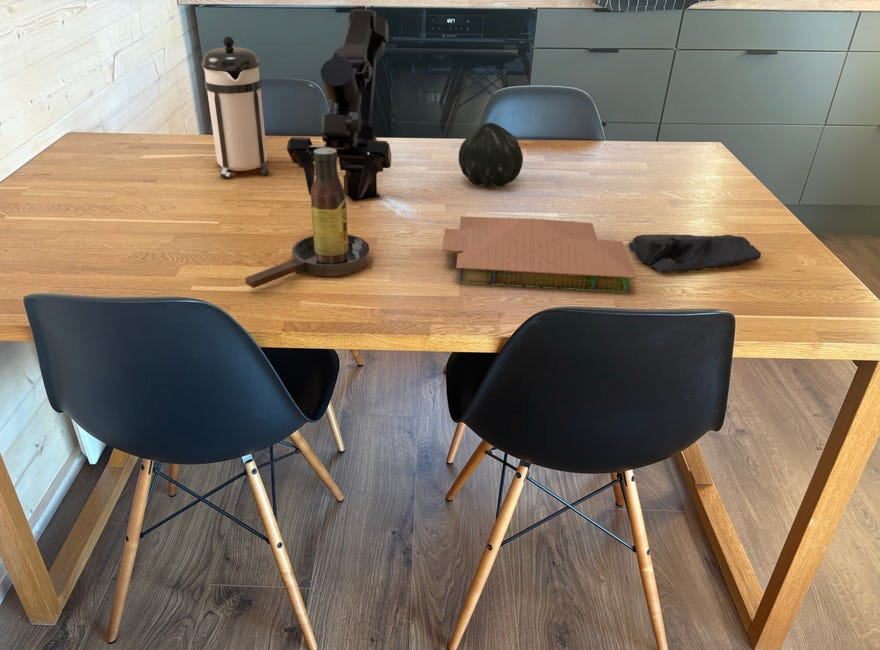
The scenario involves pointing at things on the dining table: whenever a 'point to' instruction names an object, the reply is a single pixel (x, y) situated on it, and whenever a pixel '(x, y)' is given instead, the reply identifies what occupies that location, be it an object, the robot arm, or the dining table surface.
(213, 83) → the coffee press
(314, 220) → the sauce bottle
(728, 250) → the dark slate chunk
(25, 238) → the dining table surface
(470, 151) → the squash
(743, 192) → the dining table surface
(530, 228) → the house
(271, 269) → the pan handle
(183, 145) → the dining table surface
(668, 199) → the dining table surface
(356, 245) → the cast iron pan
